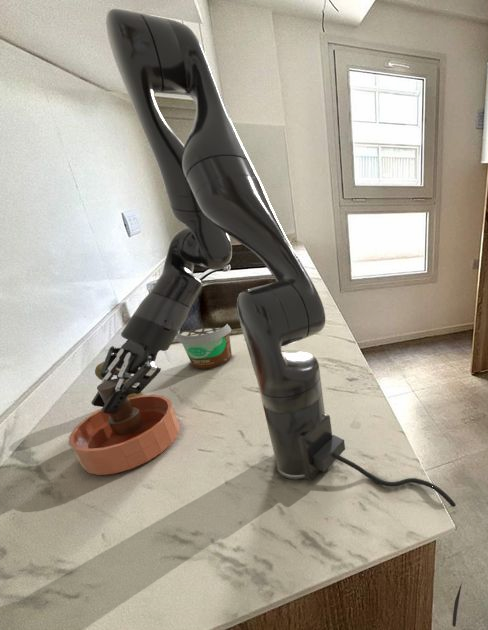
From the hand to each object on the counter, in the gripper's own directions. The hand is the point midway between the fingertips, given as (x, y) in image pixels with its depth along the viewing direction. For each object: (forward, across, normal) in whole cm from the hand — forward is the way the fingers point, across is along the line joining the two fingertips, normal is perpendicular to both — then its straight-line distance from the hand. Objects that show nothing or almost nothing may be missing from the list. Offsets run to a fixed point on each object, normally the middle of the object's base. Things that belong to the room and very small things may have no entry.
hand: (103, 408), depth 58 cm
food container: (-11, -12, +23) cm, 28 cm away
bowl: (+5, +2, +7) cm, 9 cm away
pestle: (+3, 0, +6) cm, 6 cm away
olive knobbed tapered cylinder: (+2, -12, +11) cm, 16 cm away
